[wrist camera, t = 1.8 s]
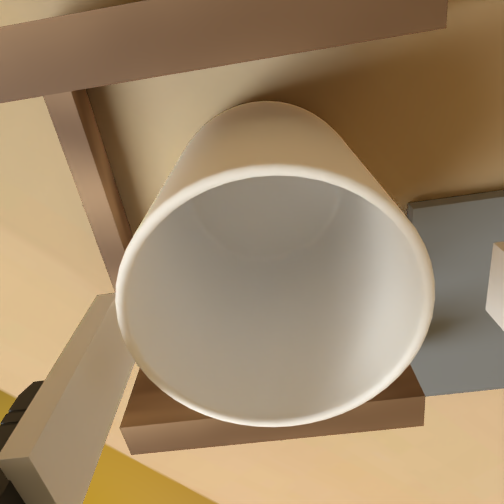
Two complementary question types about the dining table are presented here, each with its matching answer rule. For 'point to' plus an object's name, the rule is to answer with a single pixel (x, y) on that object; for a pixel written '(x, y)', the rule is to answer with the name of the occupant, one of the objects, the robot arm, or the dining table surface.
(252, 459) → the dining table surface
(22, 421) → the robot arm
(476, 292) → the coaster
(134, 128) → the dining table surface
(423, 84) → the dining table surface
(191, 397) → the mug
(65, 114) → the frame
